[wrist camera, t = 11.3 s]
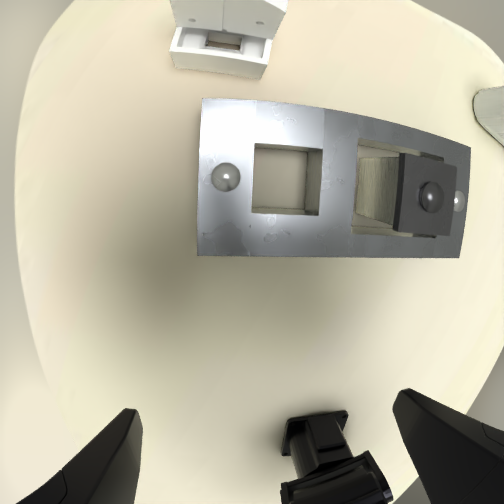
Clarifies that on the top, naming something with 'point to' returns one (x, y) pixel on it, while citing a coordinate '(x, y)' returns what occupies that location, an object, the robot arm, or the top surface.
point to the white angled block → (225, 34)
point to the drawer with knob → (408, 193)
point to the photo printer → (491, 111)
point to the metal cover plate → (309, 183)
